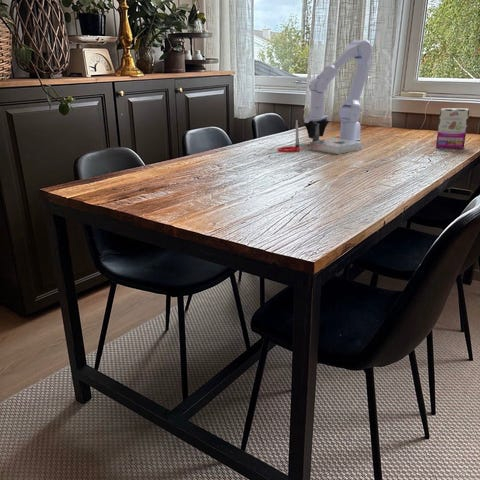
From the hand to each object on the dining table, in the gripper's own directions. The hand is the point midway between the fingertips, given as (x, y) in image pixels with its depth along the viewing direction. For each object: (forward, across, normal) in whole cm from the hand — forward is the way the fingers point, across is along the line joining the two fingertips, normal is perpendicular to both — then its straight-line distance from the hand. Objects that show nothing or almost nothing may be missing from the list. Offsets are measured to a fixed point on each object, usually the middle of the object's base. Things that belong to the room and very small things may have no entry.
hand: (315, 137), depth 216 cm
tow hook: (+3, +20, +2) cm, 20 cm away
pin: (+3, 0, 0) cm, 3 cm away
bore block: (+3, +4, +15) cm, 16 cm away
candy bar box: (+3, -32, +48) cm, 58 cm away
